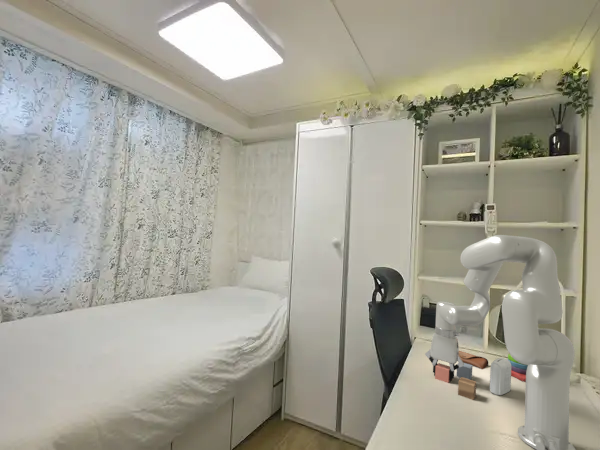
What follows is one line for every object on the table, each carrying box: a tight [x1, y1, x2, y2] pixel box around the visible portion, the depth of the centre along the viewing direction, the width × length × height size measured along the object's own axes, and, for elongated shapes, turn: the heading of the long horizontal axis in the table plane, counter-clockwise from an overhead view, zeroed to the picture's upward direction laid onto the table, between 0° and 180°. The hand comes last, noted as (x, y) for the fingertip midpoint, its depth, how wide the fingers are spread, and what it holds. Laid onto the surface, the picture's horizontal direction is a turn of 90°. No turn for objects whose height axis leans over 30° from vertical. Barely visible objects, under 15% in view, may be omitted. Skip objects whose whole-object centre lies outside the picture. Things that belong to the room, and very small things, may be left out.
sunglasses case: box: [459, 350, 489, 370], centre depth 143 cm, size 18×7×7 cm
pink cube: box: [434, 362, 450, 384], centre depth 120 cm, size 5×5×5 cm
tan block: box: [457, 377, 477, 401], centre depth 108 cm, size 5×5×5 cm
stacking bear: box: [507, 353, 528, 383], centre depth 130 cm, size 11×10×18 cm
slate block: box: [456, 362, 474, 380], centre depth 124 cm, size 5×5×5 cm
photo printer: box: [489, 357, 512, 396], centre depth 113 cm, size 10×4×12 cm, turn 123°
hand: (443, 376), depth 120 cm, fingers closed on pink cube, 4 cm apart
